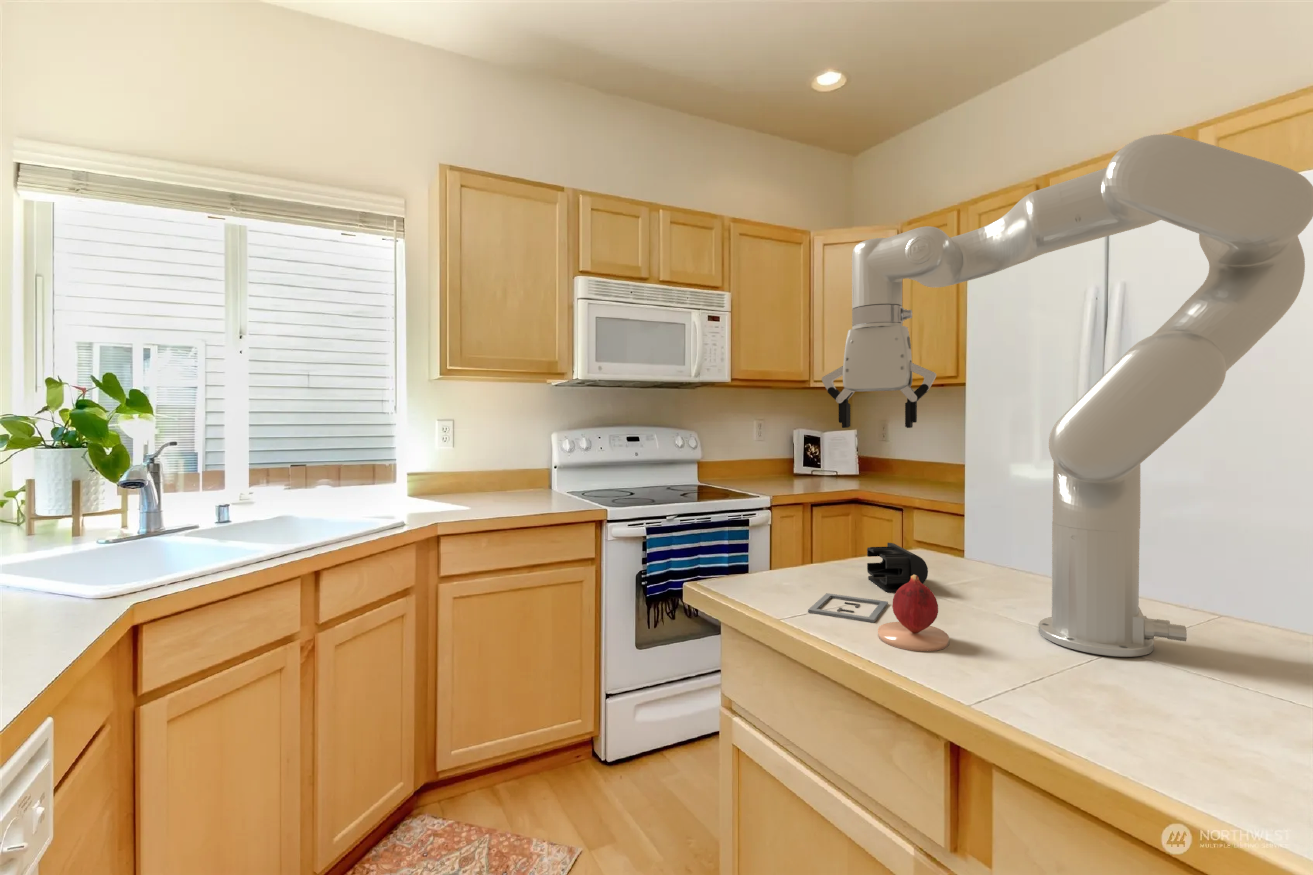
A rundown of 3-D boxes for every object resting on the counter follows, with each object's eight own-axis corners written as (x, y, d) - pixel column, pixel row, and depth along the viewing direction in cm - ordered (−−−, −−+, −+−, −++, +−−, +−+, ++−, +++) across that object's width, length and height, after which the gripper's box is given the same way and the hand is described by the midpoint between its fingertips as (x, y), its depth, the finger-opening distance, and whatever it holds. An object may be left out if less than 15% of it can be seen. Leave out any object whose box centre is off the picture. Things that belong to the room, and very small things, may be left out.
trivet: (952, 633, 86) (952, 628, 86) (944, 656, 78) (944, 650, 78) (885, 623, 90) (885, 617, 90) (871, 643, 83) (871, 637, 83)
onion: (945, 640, 81) (945, 581, 81) (901, 641, 81) (901, 581, 81) (927, 625, 87) (927, 569, 87) (886, 625, 87) (886, 570, 87)
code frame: (888, 604, 99) (888, 601, 99) (874, 622, 91) (874, 619, 91) (826, 595, 105) (826, 593, 105) (808, 612, 96) (808, 609, 96)
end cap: (928, 593, 105) (928, 554, 105) (887, 594, 105) (887, 555, 105) (903, 577, 115) (903, 541, 115) (866, 578, 115) (866, 542, 115)
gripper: (938, 318, 96) (938, 426, 97) (828, 327, 105) (828, 426, 106) (933, 311, 90) (933, 428, 91) (816, 322, 98) (816, 428, 99)
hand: (876, 427), depth 98 cm, fingers open, 9 cm apart
